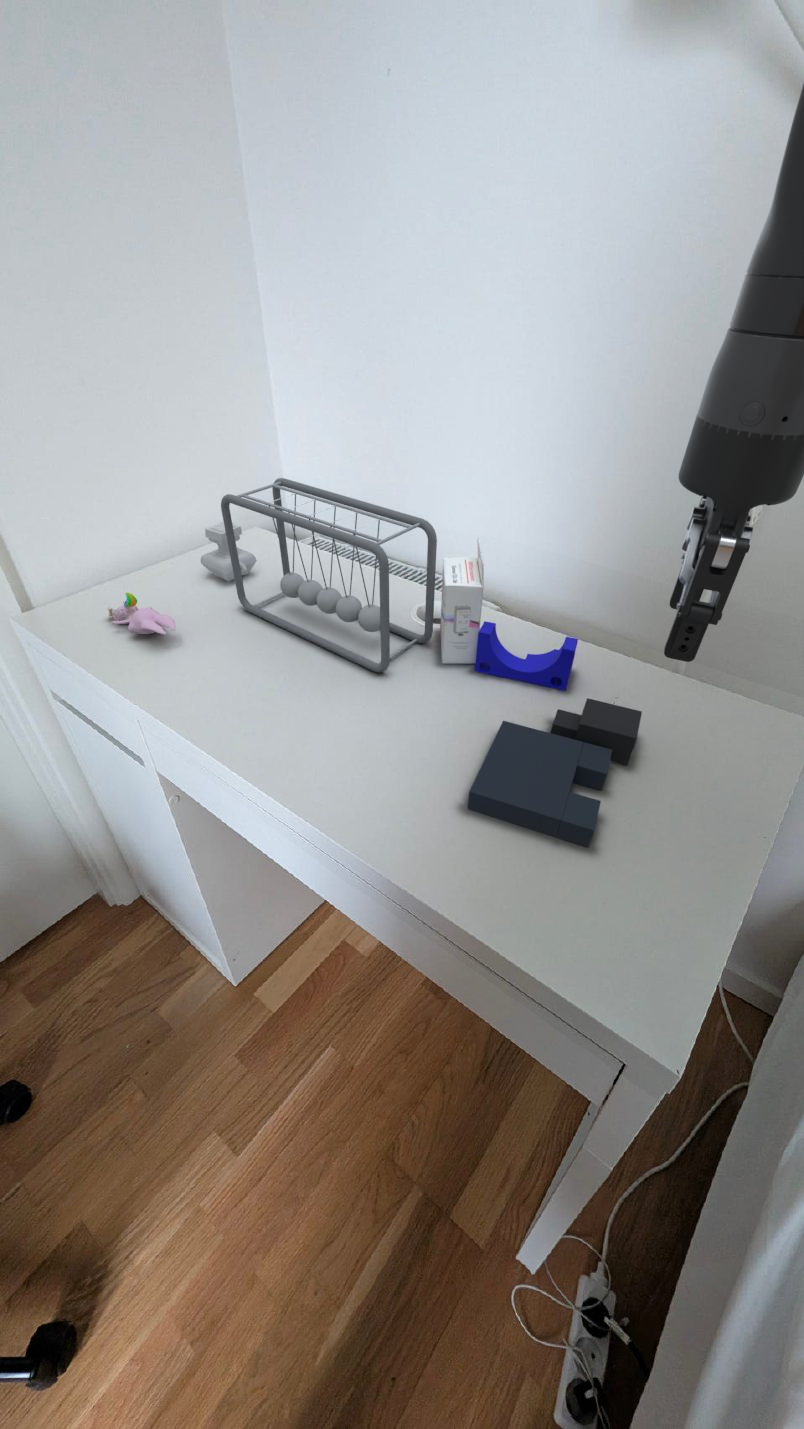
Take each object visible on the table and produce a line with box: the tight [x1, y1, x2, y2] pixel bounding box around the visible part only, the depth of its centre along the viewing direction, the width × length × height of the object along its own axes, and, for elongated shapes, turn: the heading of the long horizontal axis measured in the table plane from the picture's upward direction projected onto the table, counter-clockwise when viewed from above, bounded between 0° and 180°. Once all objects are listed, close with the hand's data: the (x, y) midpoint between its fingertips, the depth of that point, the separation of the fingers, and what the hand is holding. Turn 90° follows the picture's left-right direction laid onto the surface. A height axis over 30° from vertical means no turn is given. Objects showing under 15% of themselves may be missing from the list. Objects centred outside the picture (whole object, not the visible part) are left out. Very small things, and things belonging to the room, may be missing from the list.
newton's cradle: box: [220, 477, 438, 673], centre depth 80 cm, size 30×10×18 cm, turn 51°
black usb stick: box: [550, 697, 643, 766], centre depth 65 cm, size 9×5×4 cm, turn 66°
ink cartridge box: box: [439, 536, 485, 665], centre depth 77 cm, size 9×5×15 cm, turn 179°
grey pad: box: [467, 720, 612, 848], centre depth 60 cm, size 12×12×2 cm
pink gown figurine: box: [107, 592, 177, 636], centre depth 83 cm, size 6×6×15 cm
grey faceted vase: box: [200, 521, 258, 582], centre depth 96 cm, size 9×7×8 cm
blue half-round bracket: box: [474, 620, 579, 692], centre depth 75 cm, size 12×4×6 cm, turn 69°
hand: (679, 631), depth 48 cm, fingers open, 8 cm apart
